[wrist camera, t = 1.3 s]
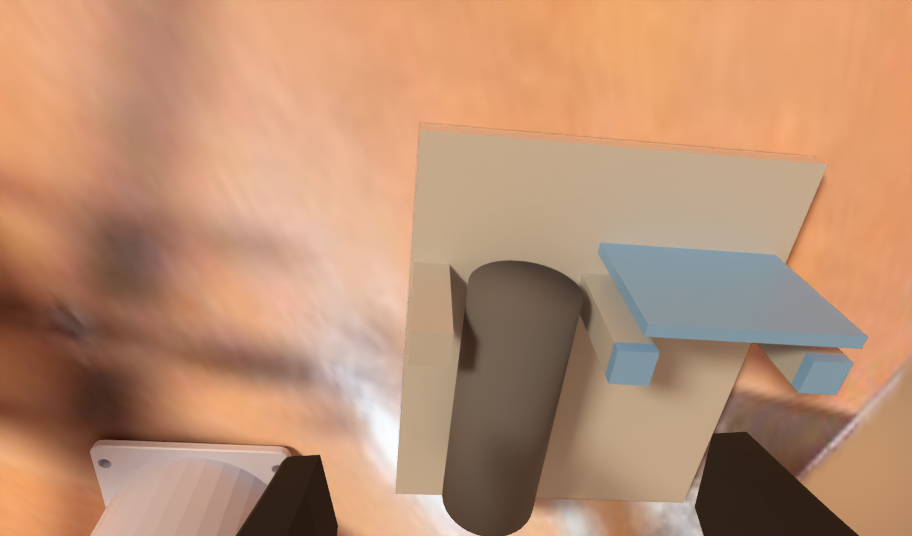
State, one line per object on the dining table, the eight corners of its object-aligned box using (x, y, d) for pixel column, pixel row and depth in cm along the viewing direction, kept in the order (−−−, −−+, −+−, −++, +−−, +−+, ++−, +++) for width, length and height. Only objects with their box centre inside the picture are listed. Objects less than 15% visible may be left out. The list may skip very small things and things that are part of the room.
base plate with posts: (676, 488, 27) (731, 609, 22) (396, 478, 26) (388, 604, 21) (813, 156, 19) (947, 228, 14) (420, 122, 18) (416, 188, 13)
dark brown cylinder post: (525, 461, 24) (540, 538, 21) (441, 459, 24) (443, 536, 21) (568, 263, 20) (596, 323, 16) (464, 257, 19) (472, 317, 16)
